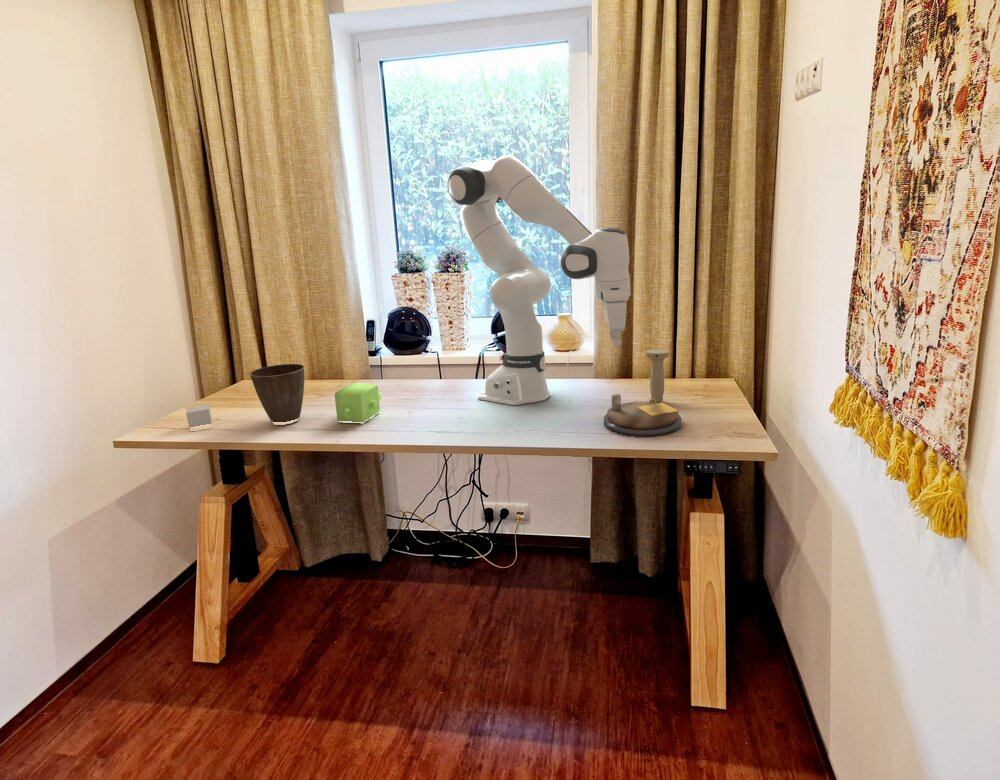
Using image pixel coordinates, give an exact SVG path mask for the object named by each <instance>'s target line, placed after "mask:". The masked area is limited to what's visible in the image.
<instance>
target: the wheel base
mask: <svg viewBox="0 0 1000 780" xmlns="http://www.w3.org/2000/svg"><path fill="white" fill-rule="evenodd" d="M648 402H655V403H656V399H651V398H649V401H648ZM682 420H683V419H682V417H681V416H680V415H679V414H678V420H677V421H676V422H675V423H674V424H672V425H669V426H666V427H662V428H655V429H633V428H626V427H621V426H618V425H615V424H613V423H611V422H610V421H609V420H608V418H607V413H606V414H605V415H604V416H603V427H604V426H605V427H604V428H605V429H606V430H607V429H608V430H607V431H609V430H610V431H609V432H611V431H612V432H611V433H613V432H615V433H614V434H616V433H617V435H620V434H622V435H621V436H624V435H626V436H625V437H631V436H634V438H655V437H656V436H657V437H662V436H663V437H664V436H668V435H670V434H674V433H676V432H677V430H678V431H679V430H681V428H682V426H683V425H682V424H683V423H682ZM657 437H656V438H657Z"/></svg>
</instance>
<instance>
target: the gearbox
mask: <svg viewBox="0 0 1000 780" xmlns="http://www.w3.org/2000/svg"><path fill="white" fill-rule="evenodd" d="M380 400H382V392H379V386H378V384H373V383H366V382H365V383H363V382H352V383H349V384H348V385H346V386H344V387H342V388H340V389H339V390H337V391H336V392H335V393H334V401H335V410H336V417H337V418H336V419H337V422H338V421H352V422H364V421H365V420H367V419H369V418H370V417H372V416H373V415H375V414H376V413H378V412H379V411H380V412H381V406H380Z"/></svg>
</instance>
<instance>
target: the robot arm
mask: <svg viewBox="0 0 1000 780" xmlns="http://www.w3.org/2000/svg"><path fill="white" fill-rule="evenodd" d="M446 186H447V187H446V188H447V191H448V195H449V197H450V199H452V201H453V202H454V203H455V204H458V205H460V206H462V207H461V209H460V212H459V217H460V220H461V223H462V226H463V227H464V230H465V232H466V234H467V236H468V238H469V240H470V242H471V243H472V245H473V247H474V249H475V250H476V252H477V253H478V255H479V257H480V259H481V260H482V262H483V264H484V265H485V266H486V267H487V268H488V269H490V270H491V271H494V273H495V274H497V275H498V276H499V277H498V278H497V279H495V280H494V281H493V282H492V284H491V286H490V289H489V296H490V299H491V302H492V304H493V305H494V306H495V307H496V308H497V309H498V311H499V313H500V317H501V319H502V322H503V323H502V324H503V326H504V333H505V344H506V345H505V346H506V347H505V348H506V352H505V353H503V354H502V355H500V356H499V358H500V359H499V361H502V363H501V365H500V366H498V367H497V369H495V370H494V371H493V372H492V373H490V374H489V375H488V376H487V378H486V381H485V386H484V389H483V390H482V391H480V392H479V394H478V399H479V400H483V401H487V402H494V403H499V404H504V405H511V406H518V405H523V404H531V403H537V402H543V401H545V400H547V399H548V398H550V397H551V394H550V390H549V388H548V384H547V379H546V374H545V370H546V358H545V351H544V348H543V327H542V325H541V324H540V322H539V321H538V319H537V316H536V314H535V313H536V312H535V309H534V305H536V304H538V303H540V302H541V301H543V300H544V299H545V298H546V296H547V295H549V293H550V292H551V287H552V284H551V279H550V277H549V275H548V274H547V273H546V272H545V271H544V270H542V269H540V268H539V267H538V266H537V265H535V263H534V262H533V261H532V260H531V259H530V258H529V257H528V255H526V254H525V252H524V251H523V250H522V249H521V248H520V247H519V245H518V243H516V240H515V239H514V238H513V237H512V235H511V232H510V231H509V230H508V228H507V226H506V225H505V223H504V221H503V220H502V219H501V218H502V217H500V215H499V213H498V212H497V211H498V210H497V208H496V205H497V204H500V203H502V202H503V203H504V204H505V205H506V207H507V208H508V209H509V210H510V211H511V212H512V213H513V214H514V215H515V216H516V217H517V218H519V219H520V220H521V221H524V222H526V223H531V224H535V225H536V224H537V225H540V226H545V227H547V228H549V229H551V230H554V231H555V232H556V233H557V234H559V235H560V236H561V237H562V238H563V239H564V240H565V241H566V242H567V243H568V244H569V245H568V246H567V247H565V248H564V249H563V251H562V253H561V256H560V268H561V269H562V270H561V271H562V272H563V273H564V275H565V276H566V277H568V278H570V279H571V280H584V279H589V278H593V277H594V278H595V291H596V292H595V293H596V295H595V296H596V299H598V300H600V301H601V306H602V305H603V306H604V319H605V321H606V324H607V326H608V331H609V338H610V340H612V345H613V347H620V346H621V334H622V332H623V331H625V329H626V319H627V307H628V306H627V302H628V301H629V300H630V296H631V275H630V273H629V265H630V248H629V239H628V236H627V233H626V232H625V231H624V230H623V229H621V228H617V227H607V226H606V227H599V228H597V229H595V231H594V232H593V233H592V232H591V231H590V230H589V229H588V228H587V227H586V226H585V225H584V224H583V223H582V222H581V221H580V220H579V219H578V217H576V216H575V215H574V214H573V213H572V212H570V211H569V210H568V208H566V207H565V206H564V204H562V203H561V202H560V201H559V200H558V199H557V198H556V197H555V196H554V195H553V194H552V192H550V191H549V189H548V188H547V186H545V185H544V184H543V182H541V181H540V179H539V178H538V177H537V176H536V175H535V174H534V173H533V172H532V170H531V169H530V168H529V167H528V166H526V164H524V163H523V162H521V161H520V160H519V159H518V158H516V157H515V156H512V155H509V154H507V155H506V154H505V155H502V156H500V157H498V158H491V159H485V160H478V161H475V162H472V163H468V164H466V165H462V166H459V167H456V168H455V169H453V170H452V171H451V172H450V173H449V175H448V176H447V181H446Z"/></svg>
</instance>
